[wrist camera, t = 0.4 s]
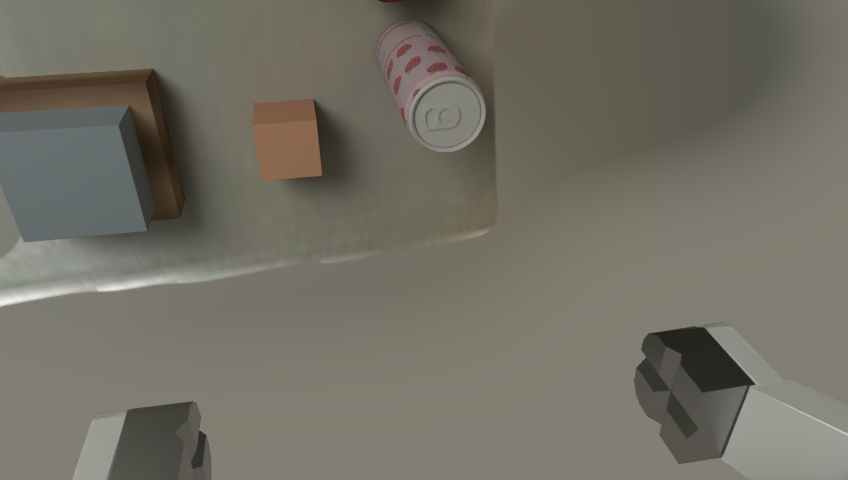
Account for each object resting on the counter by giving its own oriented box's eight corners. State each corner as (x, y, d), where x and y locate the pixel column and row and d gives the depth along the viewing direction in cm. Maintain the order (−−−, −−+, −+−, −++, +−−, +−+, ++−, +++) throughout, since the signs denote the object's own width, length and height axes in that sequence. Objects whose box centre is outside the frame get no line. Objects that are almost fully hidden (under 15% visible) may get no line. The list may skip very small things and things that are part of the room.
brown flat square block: (-8, 76, 48) (-28, 94, 45) (153, 66, 50) (145, 82, 47) (45, 209, 55) (30, 232, 51) (185, 195, 57) (180, 217, 53)
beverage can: (363, 41, 52) (391, 104, 39) (422, 5, 51) (468, 58, 39) (395, 96, 55) (430, 170, 43) (451, 64, 54) (503, 129, 42)
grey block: (0, 112, 46) (-21, 133, 43) (129, 105, 47) (118, 125, 44) (40, 216, 51) (24, 242, 47) (155, 206, 52) (147, 231, 49)
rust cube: (254, 102, 53) (252, 125, 49) (313, 98, 54) (316, 120, 50) (263, 156, 56) (262, 181, 51) (318, 151, 56) (322, 175, 52)
